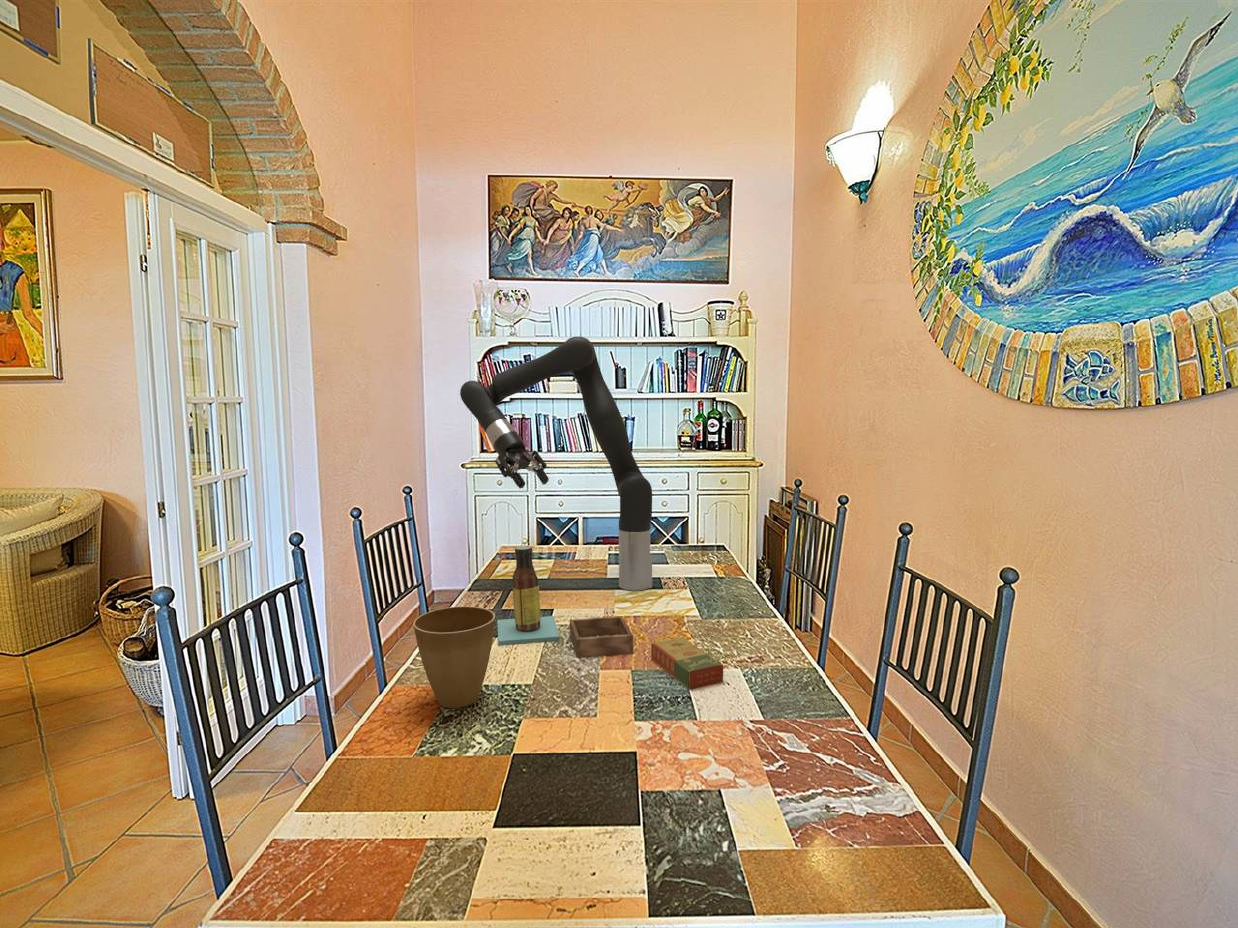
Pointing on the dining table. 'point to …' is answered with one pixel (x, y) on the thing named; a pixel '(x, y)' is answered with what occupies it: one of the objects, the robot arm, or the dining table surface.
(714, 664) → the carton
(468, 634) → the plant pot
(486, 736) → the dining table surface
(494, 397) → the robot arm
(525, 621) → the sauce bottle
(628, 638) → the frame
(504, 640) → the teal board
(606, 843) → the dining table surface
